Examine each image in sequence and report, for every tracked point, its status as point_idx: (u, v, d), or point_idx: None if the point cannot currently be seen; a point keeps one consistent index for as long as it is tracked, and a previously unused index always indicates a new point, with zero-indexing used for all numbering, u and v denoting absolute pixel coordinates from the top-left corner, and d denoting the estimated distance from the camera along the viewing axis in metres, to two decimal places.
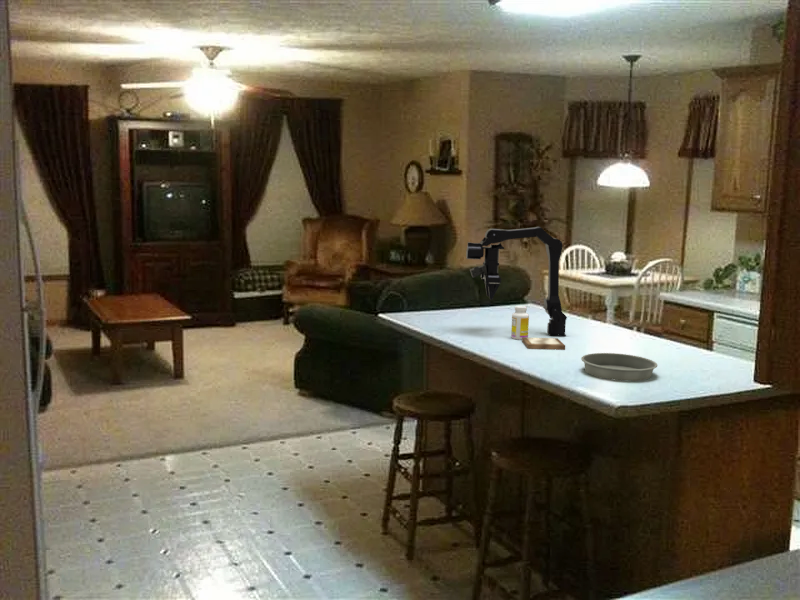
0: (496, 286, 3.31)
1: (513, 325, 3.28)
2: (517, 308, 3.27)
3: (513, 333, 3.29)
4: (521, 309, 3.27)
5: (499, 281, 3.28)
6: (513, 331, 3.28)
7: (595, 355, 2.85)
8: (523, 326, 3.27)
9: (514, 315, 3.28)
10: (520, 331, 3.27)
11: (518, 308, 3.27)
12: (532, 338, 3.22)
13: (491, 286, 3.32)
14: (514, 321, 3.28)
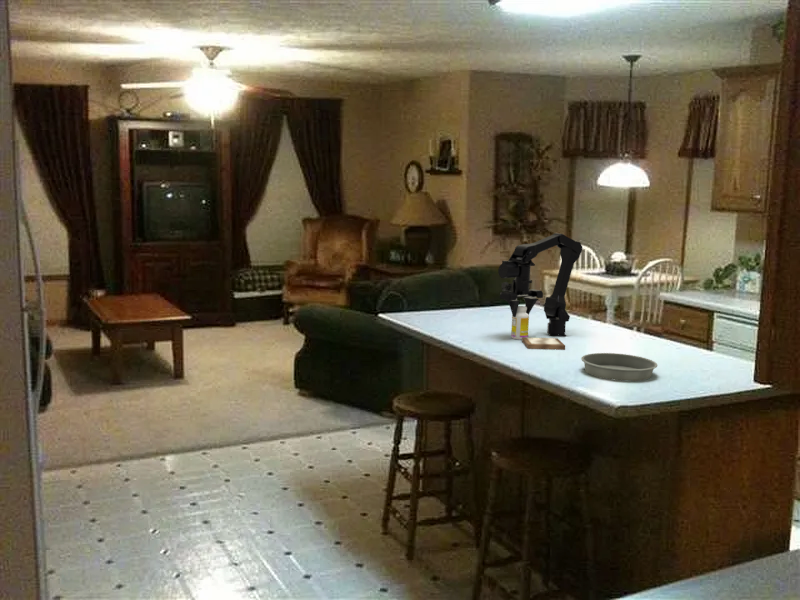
0: (514, 303, 3.24)
1: (513, 325, 3.28)
2: None
3: (513, 333, 3.29)
4: (521, 309, 3.27)
5: (508, 298, 3.21)
6: (513, 331, 3.28)
7: (595, 355, 2.85)
8: (523, 326, 3.27)
9: None
10: (520, 331, 3.27)
11: (518, 308, 3.27)
12: (532, 338, 3.22)
13: (512, 303, 3.26)
14: (514, 321, 3.28)
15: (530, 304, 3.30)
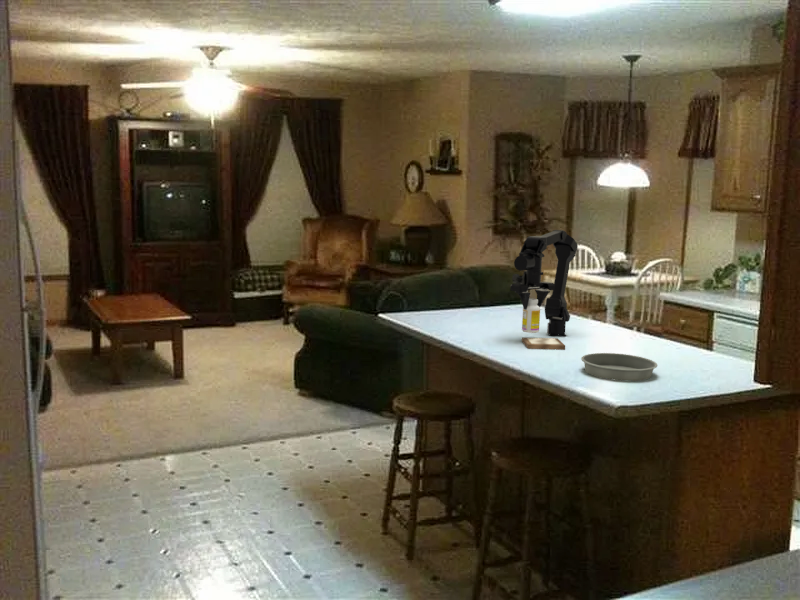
0: (525, 296, 3.18)
1: (524, 318, 3.22)
2: None
3: (524, 326, 3.22)
4: (532, 301, 3.20)
5: (519, 290, 3.14)
6: (524, 324, 3.22)
7: (595, 355, 2.85)
8: (534, 319, 3.20)
9: None
10: (530, 324, 3.20)
11: (529, 300, 3.20)
12: (532, 338, 3.22)
13: (523, 295, 3.20)
14: (525, 314, 3.21)
15: (541, 296, 3.23)
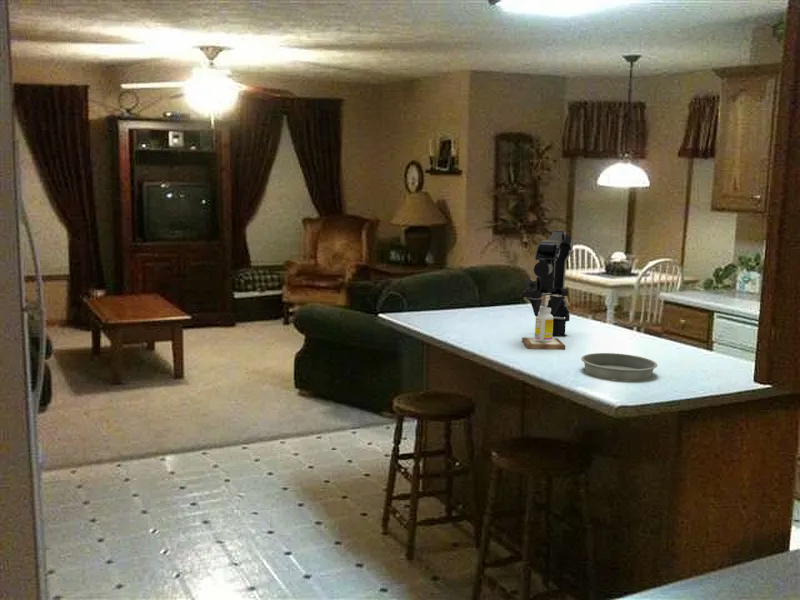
0: (536, 302, 3.10)
1: (537, 327, 3.15)
2: (541, 309, 3.14)
3: (537, 335, 3.16)
4: (545, 310, 3.14)
5: (533, 297, 3.08)
6: (537, 333, 3.15)
7: (595, 355, 2.85)
8: (547, 328, 3.14)
9: (538, 316, 3.15)
10: (544, 333, 3.14)
11: (542, 309, 3.14)
12: (532, 338, 3.22)
13: (534, 302, 3.12)
14: (538, 323, 3.15)
15: (557, 302, 3.17)
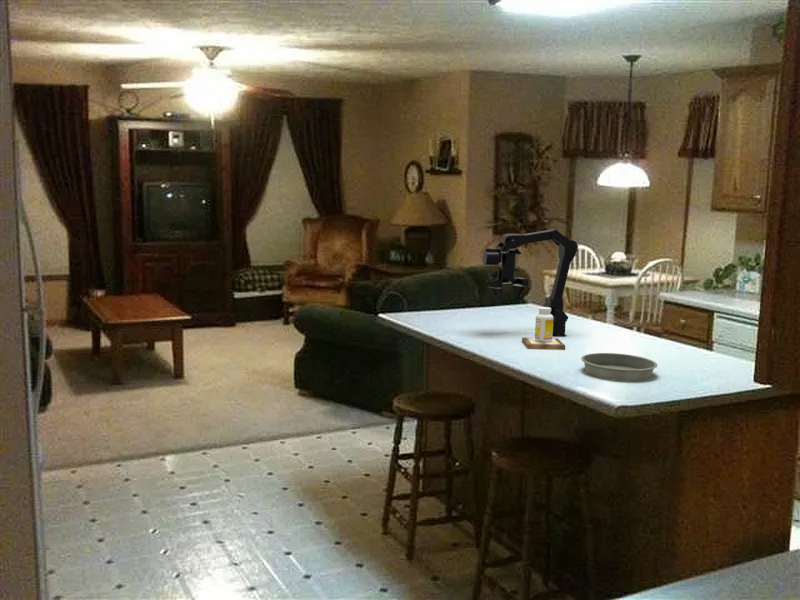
0: (498, 291, 3.29)
1: (537, 327, 3.15)
2: (541, 309, 3.14)
3: (537, 335, 3.16)
4: (545, 310, 3.14)
5: (494, 286, 3.26)
6: (537, 334, 3.15)
7: (595, 355, 2.85)
8: (547, 328, 3.14)
9: (538, 316, 3.15)
10: (544, 333, 3.14)
11: (542, 309, 3.14)
12: (532, 338, 3.22)
13: (496, 291, 3.31)
14: (538, 323, 3.15)
15: (518, 292, 3.36)
